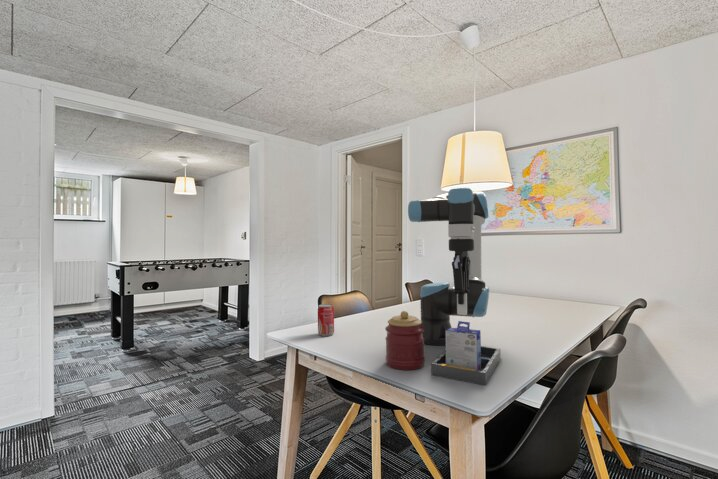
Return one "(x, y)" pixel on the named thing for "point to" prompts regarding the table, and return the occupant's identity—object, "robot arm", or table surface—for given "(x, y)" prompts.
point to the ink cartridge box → (463, 347)
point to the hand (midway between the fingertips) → (462, 314)
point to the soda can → (325, 320)
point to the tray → (488, 365)
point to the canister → (405, 342)
